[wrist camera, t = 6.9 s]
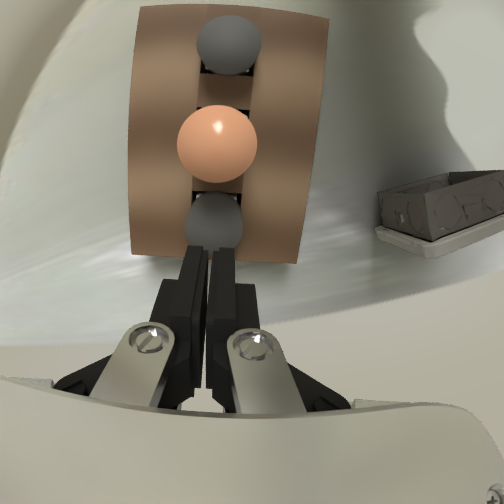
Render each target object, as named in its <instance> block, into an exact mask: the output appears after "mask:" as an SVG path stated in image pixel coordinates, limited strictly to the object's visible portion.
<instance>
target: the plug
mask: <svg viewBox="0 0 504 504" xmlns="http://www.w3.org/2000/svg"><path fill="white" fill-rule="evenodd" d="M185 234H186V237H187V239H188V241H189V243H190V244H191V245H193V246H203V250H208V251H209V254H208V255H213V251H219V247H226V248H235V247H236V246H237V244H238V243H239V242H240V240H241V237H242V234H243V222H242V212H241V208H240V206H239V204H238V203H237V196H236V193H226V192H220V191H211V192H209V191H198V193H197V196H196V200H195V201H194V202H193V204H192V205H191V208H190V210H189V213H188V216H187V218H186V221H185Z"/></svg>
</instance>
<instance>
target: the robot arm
mask: <svg viewBox="0 0 504 504" xmlns="http://www.w3.org/2000/svg"><path fill="white" fill-rule="evenodd" d="M208 254H209V251H208V250H203V246H193V245H188V246H187V249H186V253H185V256H184V260H183V264H182V267H181V271H180V275H179V278H178V280H173V279H163V281H162V283H161V286H160V289H159V292H158V295H157V298H156V301H155V304H154V307H153V310H152V314H151V317H150V320H149V322H143V323H139V324H136V325H134V326H133V327H131V328H129V329H128V331H127V332H126V333H125V334H124V336H123V338H122V339H121V341H120V343H119V344H118V346H117V348H116V349H115V351H114V353H113V354H111V355H110V356H107V357H105V358H103V359H101V360H99V361H97V362H95V363H93V364H91V365H88V366H86V367H84V368H82V369H80V370H78V371H76V372H74V373H71V374H70V375H67V376H65V377H63V378H62V379H60V380H59V381H58V382H57V383H54V382H53V380H52V379H31V378H15V377H6V376H2V375H0V504H504V459H503V457H502V455H501V453H500V451H499V449H498V447H497V446H496V444H495V442H494V440H493V438H492V437H491V435H490V434H489V432H488V431H487V429H486V428H485V426H484V425H483V424H482V422H481V421H480V420H479V419H478V418H477V417H476V416H475V415H474V414H473V413H472V412H470V411H468V410H466V409H464V408H461V407H458V406H454V405H448V404H441V403H427V402H418V403H410V402H389V401H374V400H360V399H355V400H354V402H348V401H347V400H346V399H345V398H344V397H342V396H341V395H340V394H338V393H336V392H335V391H333V390H331V389H329V388H328V387H326V386H324V385H323V384H321V383H320V382H318V381H316V380H315V379H313V378H311V377H310V376H308V375H306V374H305V373H303V372H302V371H300V370H298V369H297V368H295V367H294V366H292V365H290V364H289V363H287V361H286V359H285V356H284V354H283V351H282V349H281V346H280V344H279V342H278V341H277V339H276V338H275V337H274V336H273V335H272V334H270V333H268V332H266V331H264V330H260V324H259V316H258V307H257V299H256V290H255V285H254V284H239V283H235V249H234V248H226V247H219V251H213V257H212V266H211V275H210V284H209V294H208V304H207V286H208ZM205 331H206V388H207V389H212V398H213V399H215V400H216V401H217V402H218V403H219V404H221V405H222V406H223V413H213V412H195V411H184V410H181V405H182V404H181V403H182V402H183V401H185V400H186V399H188V398H189V397H194V389H195V388H201V380H202V365H203V354H204V342H205Z"/></svg>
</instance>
